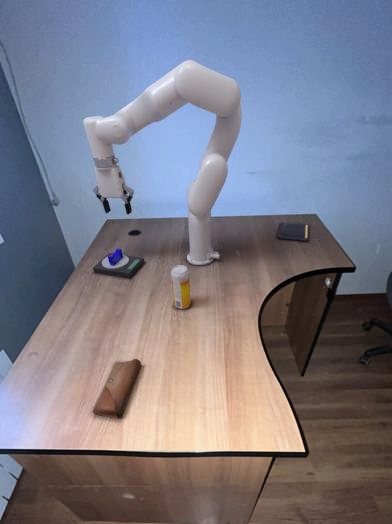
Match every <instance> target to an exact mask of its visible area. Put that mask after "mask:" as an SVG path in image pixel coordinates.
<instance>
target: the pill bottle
mask: <svg viewBox="0 0 392 524" xmlns="http://www.w3.org/2000/svg"><path fill="white" fill-rule="evenodd" d="M170 278H171V286H172V294H173V295H172V296H173V303H174V306H175V307H176V308H177V309H179V310H186V309H188V308H189V307H190V305H191V287H190V272H189V269H188V267H187V266H186V265H183V264H178V265H174V266H172V268H171V271H170Z"/></svg>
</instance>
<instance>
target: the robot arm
mask: <svg viewBox="0 0 392 524" xmlns="http://www.w3.org/2000/svg"><path fill="white" fill-rule="evenodd" d="M241 101H242V93H241V88H240V85H239V83H238V82H237V81H236V80H234V79H233V78H232V77H229V76H226V75H224V74H222V73H220V72H217V71H215V70H212V69H211V68H208V67H206V66H204V65H203V64H201V63H199V62H198V61H197V62H196V61H195V60H193V59H187V60H184V61H183V62H181V63H180V64H179V65H176V67H174V68H173V69H171V70H170V71H169V72H167V73H166V74H165V75H163V76H162V77H160V78H158V79H157V80H156V81H154V82H153V83H152V84H151V85H149V86H148V87H147V88H145V89H144V91H142V93H141V94H140V95H139V96H138V97H136V98H135V99H134V100H132V101H131V102H130V103H128V104H127V105H125V106H124V107H122V108H121V109H120V110H118V111H116V112H115V113H113V114H112V115H110V116H107V117H104V116H102V115H92V116H88V117H85V118H84V119H83V121H82V122H83V128H84V131H85V135H86V138H87V142H88V145H89V147H90V148H89V149H90V151H91V155H92V158H93V162H94V166H95V167H94V174H95V178H96V184H97V185H96V186H95V187H94V188H92V192H93V193H94V195H95V197H96V198H97V199H98V200H99V201H100V203H101V205H102V207H103V210H104V213H105V214H108V213H110V212H111V211H112V209H111V205H110V202H109V199H121V200H122V201H123V202H124V204H123V205H124V210H125V213H126V215H130V214H132V212H133V210H132V204H131V202H132V200H133V198H134V193H135V191H134V189H133V188H131V187H130V186H128V185H127V183H126V180H125V177H124V174H123V171H122V169H121V166H120V165H119V164H118V163H120V162H119V161H120V160H119V158H118V157H116V155H115V151H114V146H113V145H119V146H120V145H125V144H126V143H127V142H128V141H129V140H130V138H131V137H133V136H134V135H135V134H137V133H139V132H140V131H141V130H143V129H144V128H146V127H148V126H150V125H152V124H154V123H158V122H161V121H163V120H165V119H167V118H168V117H169V116H171V115H172V114H173V113H175V112H177V111H178V110H179V109H181V108H183V107H185V106H186V105H187V104H191V105H192V106H195V107H197V108H199V109H202V110H204V111H207V112H209V113H211V114H214V115H215V116H216V117H215V124H214V127H213V130H212V132H211V135H210V137H209V140H208V143H207V145H206V148H205V150H204V152H203V154H202V156H201V158H200V161H199V171H198V174H197V176H196V178H195V180H193V181H191V183H190V184H189V185H188V187H187V189H186V204H187V216H188V217H187V223H188V239H189V240H188V241H189V253H188V254H187V255H186V260H187V262H188V263H189V264H191V265H195V266H205V265H209V264H211V263H212V262H213V261H214V260H215V259H217V260H220V257H221V255H220V253H219V251H214V250H213V247H212V209H213V207H214V205H215V204H216V202H217V199H218V198H219V196H220V193H221V191H222V190H223V188H224V185H225V183H226V181H227V177H228V174H229V168H228V167H229V166H228V161H229V159H230V156H231V154H232V152H233V149H234V147H235V144H236V142H237V140H238V138H239V135H240V132H241V127H242V119H243V116H242V114H243V113H242V112H243V111H242V104H241Z"/></svg>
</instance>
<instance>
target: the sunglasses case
mask: <svg viewBox="0 0 392 524" xmlns="http://www.w3.org/2000/svg"><path fill="white" fill-rule="evenodd" d="M141 365H142V363H141V361H140V359H138V358H133V359H132V360H128V361H123V362H116V363H115V364H114V365H113V368H112V369H111V372H110V374H109V376H108V378H107V381H106V383H105V384H104V387H103V388H102V391H101V392H100V394H99V396H98V398H97V400H96V402H95V404H94V407H93V409H92V411H91V412H92V413H93V414H94V415H97V416H102V417H106V418H111V419H120V418H121V417H122V415H123V413H124V411H125V407H126V405H127V401H128V399H129V396H130V393H131V390H132V388H133V386H134V383H135V380H136V378H137V375H138V372H139V370H140V367H141Z"/></svg>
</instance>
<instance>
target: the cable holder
mask: <svg viewBox="0 0 392 524" xmlns="http://www.w3.org/2000/svg"><path fill="white" fill-rule="evenodd" d="M112 253H113V255H109V256H108V260H109V263H110V265H111V266H115V265H116V264H117V263H118V262H119V261H120V260H121V259H122V258H123V255H124V254H123V250H122V248H120V247H117V248H116V249H115V250H114V252H112Z"/></svg>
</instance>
